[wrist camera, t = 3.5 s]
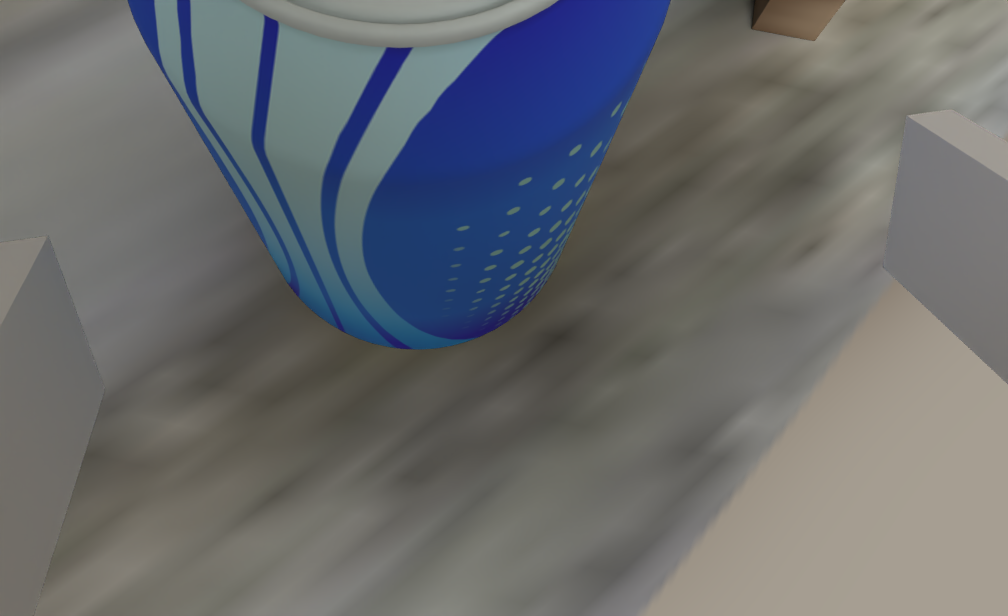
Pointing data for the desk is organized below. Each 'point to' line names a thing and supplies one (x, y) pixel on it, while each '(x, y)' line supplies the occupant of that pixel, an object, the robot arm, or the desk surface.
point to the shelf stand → (794, 16)
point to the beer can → (407, 142)
